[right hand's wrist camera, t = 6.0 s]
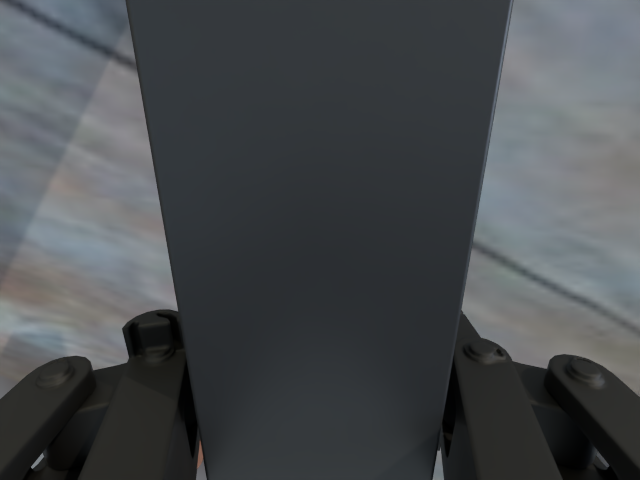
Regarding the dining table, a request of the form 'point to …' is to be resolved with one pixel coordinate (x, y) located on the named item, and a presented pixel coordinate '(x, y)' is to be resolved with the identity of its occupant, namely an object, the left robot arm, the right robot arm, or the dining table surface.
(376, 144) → the long box
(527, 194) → the dining table surface
